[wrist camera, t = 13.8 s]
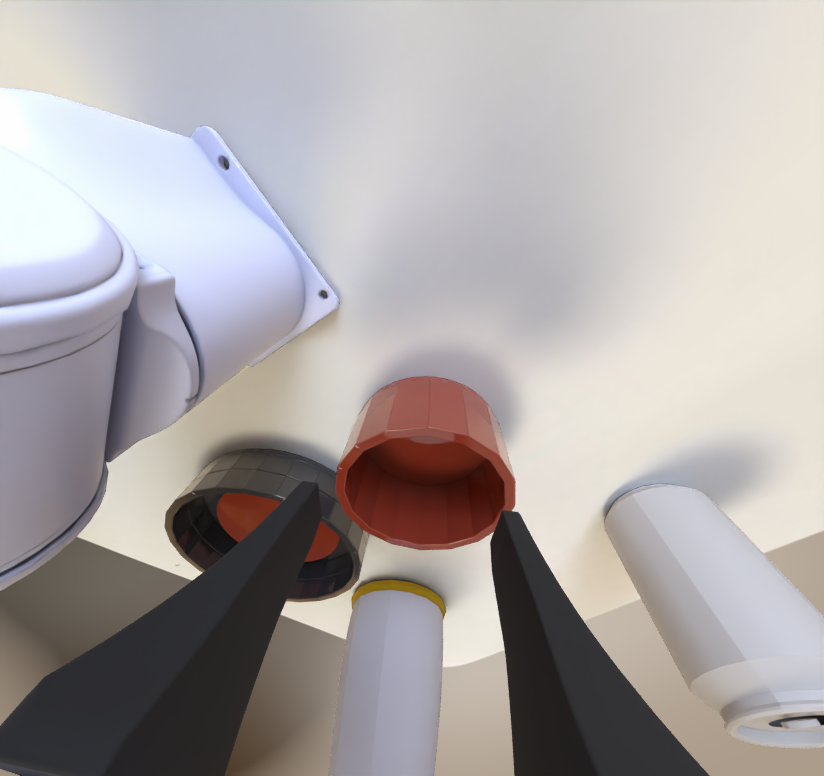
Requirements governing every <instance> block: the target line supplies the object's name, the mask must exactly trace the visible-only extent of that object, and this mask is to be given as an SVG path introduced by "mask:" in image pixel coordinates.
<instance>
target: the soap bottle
mask: <svg viewBox="0 0 824 776" xmlns="http://www.w3.org/2000/svg"><path fill="white" fill-rule="evenodd" d="M445 613H446V609H445V605H444V603H443V601H442V600H441V598H440V596H438V595H437V594H436V593H434V592H433V591H431V590H430V589H429V588H426V587H423V586H420V585H418V584H415V583H412V582H406V581H398V580H382V581H373V582H371V583H368V584H365V585H362V586H361V587H360V588H359V589H358V590H357V591H356V592H355V593H354V595H353V596H352V615H351V619H350V624H349V628H348V633H347V638H346V644H345V650H344V657H343V662H342V669H341V675H340V681H339V688H338V696H337V704H336V712H335V720H334V728H333V736H332V746H331V757H330V766H329V776H434V770H435V760H436V751H437V739H438V727H439V716H440V703H441V685H442V661H443V619H444V616H445Z"/></svg>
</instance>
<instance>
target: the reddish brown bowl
mask: <svg viewBox="0 0 824 776" xmlns="http://www.w3.org/2000/svg"><path fill="white" fill-rule="evenodd" d="M335 492H336V495H337V497H338V499H339V501H340V504H341V506H342V508H343V510H344V512H345V514H346V515H347V516H348V517H349V518H351V519H352V520H353V521H354V522H355V523H356V524H357V525H358V526H359V527H360V528H361V529H362V530H364V531H365V532H367V533H369V534H372V535H374V536H376V537H378V538H380V539H382V540H384V541H386V542H388V543H391V544H394V545H399V546H404V547H409V548H413V549H418V550H438V549H453V548H456V547H460V546H464V545H467V544H471V543H475V542H478V541H480V540H482V539H483V538H485V537H486V536H488V535H489V534H491V533H492V532H494V531H495V528H496V525H497V522H498V520H499V517H500V514H501V511H502V510H506V511H512V510H513V508H514V506H515V478H514V474H513V471H512V467H511V464H510V460H509V457H508V453H507V450H506V446H505V443H504V439H503V436H502V433H501V429H500V426H499V423H498V421H497V420H496V417H495V415H494V413H493V411H492V409H491V408H490V407H489V405H488V404H487V403H486V401H485V400H484V399H483V398H482V397H481V396H479V395H478V394H477V393H476V392H474V391H473V390H471V389H470V388H468V387H466V386H464V385H462V384H460V383H457V382H455V381H452V380H448V379H444V378H438V377H426V376H424V377H412V378H407V379H403V380H399V381H396V382H394V383H392V384H389V385H387V386H385V387H384V388H382V389H381V390H379V391H378V392H377V393H375V394H374V395H373V396H372V397H371V398H370V399H369V400H368V401H367V403H366V404H365V406H364V407H363V409H362V411H361V412H360V414H359V415H358V418H357V420H356V423H355V425H354V427H353V430H352V432H351V435H350V437H349V440H348V442H347V445H346V447H345V450H344V452H343V455H342V457H341V460H340V462H339V464H338V467H337V475H336V483H335Z"/></svg>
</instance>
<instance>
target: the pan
mask: <svg viewBox="0 0 824 776" xmlns="http://www.w3.org/2000/svg"><path fill="white" fill-rule="evenodd" d="M336 475H337V473H335V472H334V471H332V470H330V469H329V468H327V467H325V466H323V465H321V464H319V463H317V462H315V461H313V460H311V459H308V458H305V457H302V456H299V455H296V454H292V453H289V452H284V451H278V450H272V449H245V450H238V451H234V452H230V453H227V454H225V455H223V456H220V457H218V458H217V459H215V460H214V461H212V462H211V463H210V464H209V465H208V466H207V467H205V468H204V470H203V471H202V472H201V473H200V474H199V475H198V476H197V477H196V478H195V479H194V480H193V481H192V483H191V484H190V485H189V486H188V487H187V488H186V489H185V490H184V491H183V492H182V493H181V494H180V495H179V496H178V497H177V499H176V500H175V501H174V502H173V504H172V505H171V506H170V508H169V509H168V510H167V512H166V517H165V529H166V532H167V535H168V537H169V540H170V542H171V543H172V544H173V546H174V547H175V548H176V550H177V551H178V552H179V553H180V555H181V556H182V557H183V558H185V559H186V560H187V561H188V562H189V563H191V564H192V565H193V566H194V567H195V568H197V569H198V570H200V571H201V572H204V571H206V570H207V569H208V568H210V567H211V566H212V565H213V564H215V563H216V562H217V561H218V560H219V559H221V558H222V557H223V556H224V555H225V554H227V553H228V552H229V551H230V550H231V549H232V548H234V547H235V546H236V545H237V544H238V542H237V541H236V540H235V539H233V538H232V537H231V536H230V535H229V534H228V533H227V532H226V531H225V530H224V528H223V527H222V525H221V524H220V522H219V520H218V517H217V510H216V508H217V503H218V501H219V499H220V498H221V497H222V495H223V494H224V493H235V494H249V495H253V496H258V497H263V498H268V499H272V500H276V501H279V502H282V501H283V500H284V499H285V498H286V497H287V496H288V495H289V494H290V493H291V492H292V491H293V490H294V489H295V488H296V487H297V486H298V485H299V484H300V483H301V482H302V481H307V482H314V483H318V487H319V496H320V505H321V513H322V518H321V522H323V523H324V524H325V525H327V526H328V527H329V528H330V529H331V530H332V531H334V532H335V533H336V534H337V535H338V536H339V537H340V540H339V543H338V546H337V547H336V549H335V550H334V551H333V552H332V553H331V554H329V555H328V556H326V557H324V558H321V559H319V560H314V561H308V562H304V564H303V566H302V568H301V570H300V572H299V574H298V576H297V579H296V581H295V583H294V585H293V587H292V589H291V591H290V594H289V596H288V598H287V600H286V601H293V602H309V601H321V600H325V599H329V598H333V597H336V596H338V595H340V594H342V593H344V592H346V591H348V590H349V589H351V587H352V586H353V585H354V584H355V583H356V582H357V581H358V579H359V575H360V571H361V567H362V563H363V558H364V554H365V549H366V545H367V540H368V536H369V533H367V532H365V531H364V530H362V529H361V528H360V527H359V526H358V525H357V524H356V523H355V522H354V521H353V520H352V519H351V518H349V517H348V516H347V515H346V514H345V512H344V510H343V508H342V506H341V504H340V501H339V499H338V497H337V495H336V492H335V483H336Z"/></svg>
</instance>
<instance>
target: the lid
mask: <svg viewBox="0 0 824 776" xmlns="http://www.w3.org/2000/svg"><path fill="white" fill-rule="evenodd" d="M280 503H281V502H279V501H276V500H272V499H268V498H263V497H258V496H253V495H249V494H235V493H224V494H223V495H222V497H221V498H220V499H219V501H218V503H217V508H216V510H217V517H218V520H219V522H220V524H221V525H222V527H223V528H224V530H225V531H226V532H227V533H228V534H229V535H230V536H231V537H232V538H233V539H235V540H236V541H237V542H238V543H239V542H240V541H241V540H243V539H244V538H245V537H246V536H247V535H248V534H249V533H250V532H251V531H253V530H254V529H255V528H256V527H257V526H258V525H259V524H260V523H261V522H262V521H263V520H264V519H265V518H266V517H267V516H268V515H269V514H270V513H271V512H272V511H273V510H274V509H275V508H276V507H277V506H278V505H279V504H280ZM339 540H340V537H339V536H338V535H337V534H336V533H335V532H334V531H332V530H331V529H330V528H329V527H328V526H327V525H325V524H324V523H323V522H321V521H320V524H319V527H318V530H317V533H316V536H315V538H314V541H313V544H312V546H311V548H310V551H309V553H308V555H307V557H306V559H305V561H304V562H308V561H314V560H319V559H321V558H324V557H326V556H328V555H329V554H331V553H332V552H333V551H334V550H335V549H336V547H337V546H338V543H339Z"/></svg>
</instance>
